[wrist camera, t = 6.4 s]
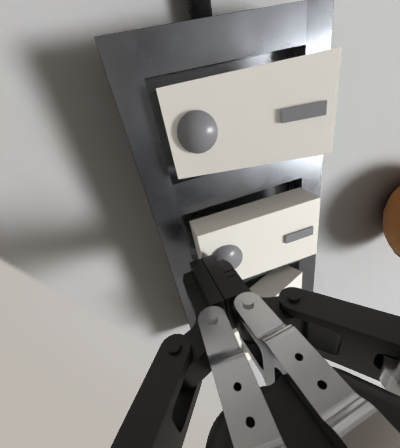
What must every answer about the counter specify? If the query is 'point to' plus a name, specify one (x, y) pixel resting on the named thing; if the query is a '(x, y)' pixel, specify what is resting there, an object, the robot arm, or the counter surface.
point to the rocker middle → (261, 232)
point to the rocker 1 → (253, 115)
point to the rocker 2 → (273, 288)
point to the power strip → (195, 69)
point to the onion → (392, 221)
